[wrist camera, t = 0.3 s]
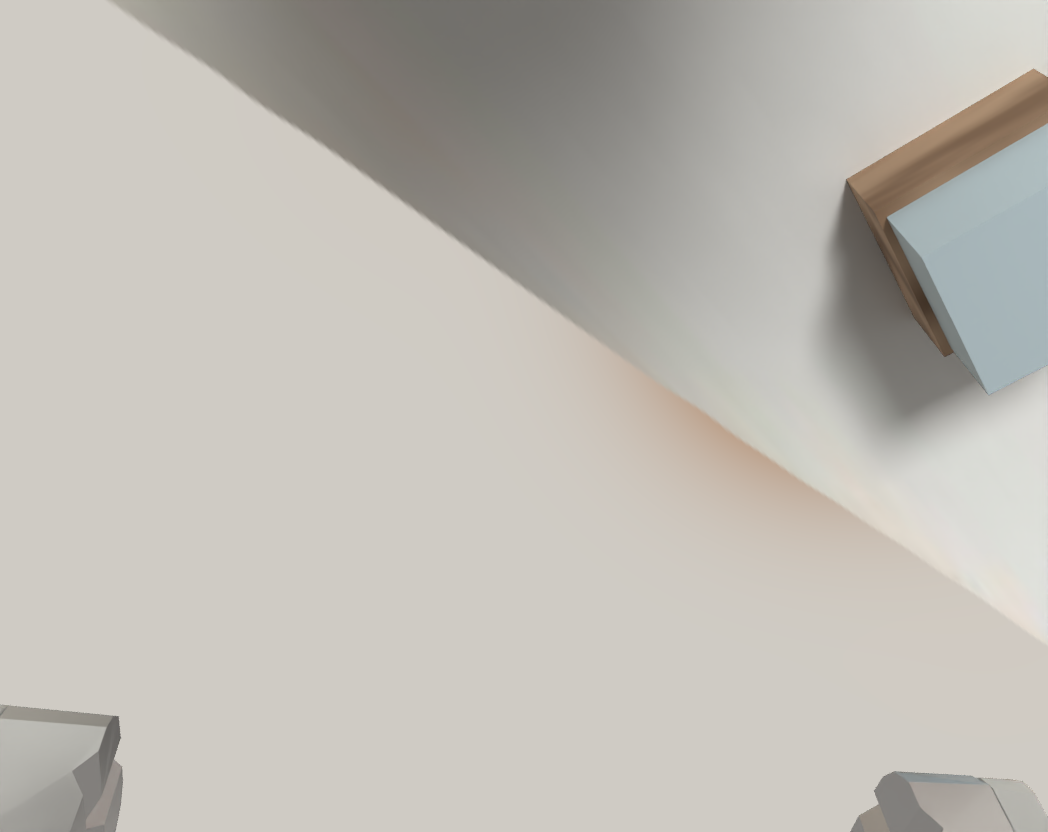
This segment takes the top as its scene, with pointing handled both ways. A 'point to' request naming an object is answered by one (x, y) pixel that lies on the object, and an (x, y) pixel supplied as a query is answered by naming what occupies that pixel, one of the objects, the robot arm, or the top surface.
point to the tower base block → (944, 173)
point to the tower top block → (987, 260)
